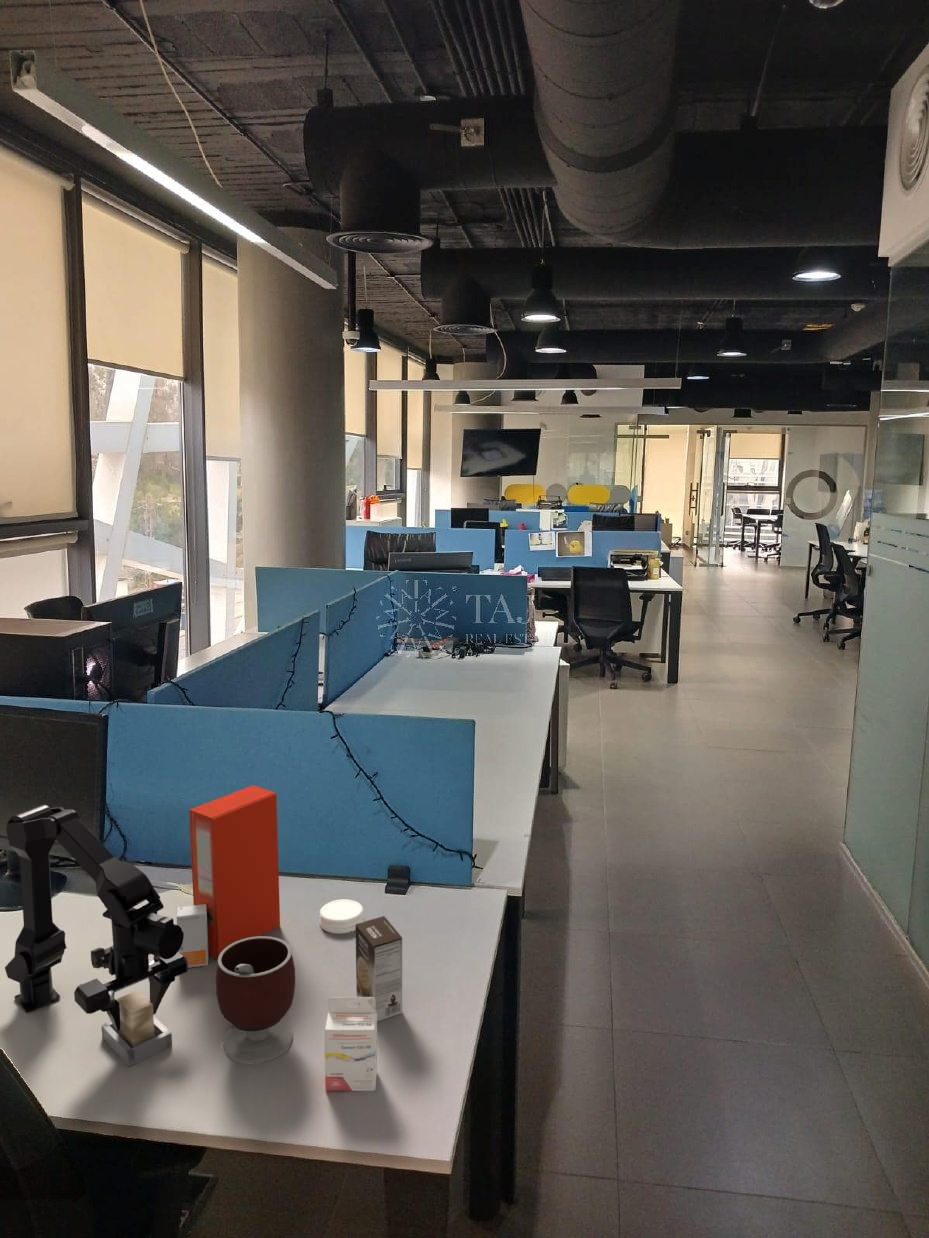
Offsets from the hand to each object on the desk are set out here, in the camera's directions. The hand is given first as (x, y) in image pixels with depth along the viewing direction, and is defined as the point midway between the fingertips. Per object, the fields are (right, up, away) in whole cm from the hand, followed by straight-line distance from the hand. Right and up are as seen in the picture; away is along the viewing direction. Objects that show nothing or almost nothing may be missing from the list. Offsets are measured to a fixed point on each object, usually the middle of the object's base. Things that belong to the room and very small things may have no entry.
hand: (135, 1021), depth 158 cm
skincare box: (+3, 0, +26) cm, 26 cm away
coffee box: (+43, -2, +12) cm, 45 cm away
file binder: (+10, +2, +36) cm, 37 cm away
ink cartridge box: (+40, -6, -9) cm, 42 cm away
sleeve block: (0, -4, +1) cm, 4 cm away
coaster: (+32, +3, +42) cm, 53 cm away
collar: (0, -4, +1) cm, 4 cm away
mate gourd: (+22, -4, 0) cm, 22 cm away
